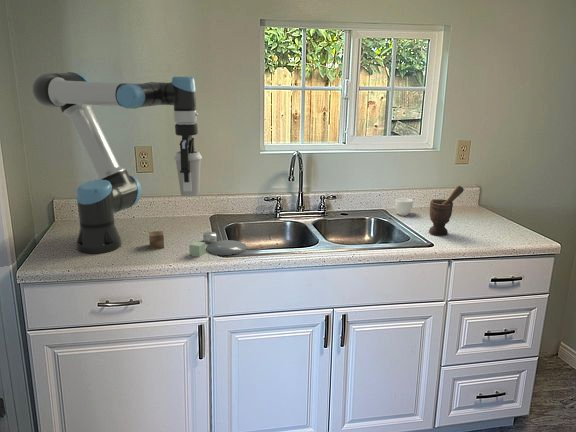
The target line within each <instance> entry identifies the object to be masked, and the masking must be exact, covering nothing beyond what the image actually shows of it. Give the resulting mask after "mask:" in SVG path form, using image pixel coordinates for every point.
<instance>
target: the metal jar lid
mask: <svg viewBox="0 0 576 432" xmlns="http://www.w3.org/2000/svg"><path fill="white" fill-rule="evenodd" d="M202 237H203V238H202V240H203V241H202V242H204V243H205V244H207V245H209V244H210V243H213V242H216V241H218V239H217V233H216V232H215V231H206V232H203V233H202Z"/></svg>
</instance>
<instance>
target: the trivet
mask: <svg viewBox="0 0 576 432" xmlns="http://www.w3.org/2000/svg"><path fill="white" fill-rule="evenodd" d="M246 250H247V246H246V244H245V243H244V242H242V241H238V240H233V239H231V240H229V239H225V240H224V239H223V240H217V241H216V242H213V243H210V244H207V246H206V252H208V253H209V254H212V255H214V256H224V255H228V256H233V255H232V254H236V255H239V254H242V253H244V252H245V251H246Z"/></svg>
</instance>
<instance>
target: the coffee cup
mask: <svg viewBox="0 0 576 432" xmlns="http://www.w3.org/2000/svg"><path fill="white" fill-rule="evenodd" d="M200 153H201V152H200V151H198V150H195V151H193V153H192V154H188V158H189V161H190V172H191V185H192V191H184V189H183V173H180V171H181V153H180V151H177V152H175V155H174V158H173V159H174V160H175V165H176V171H177V178H178V183H179V192H180V196H181V197H187V198H188V197H189V198H190V197H196V196H199V195H200V192H201V191H200V189H201V188H200V187H201V184H200V183H201V164H202V163H201V161H202V159H203V156H202V154H200ZM184 169H187V168H184Z"/></svg>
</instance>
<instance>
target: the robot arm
mask: <svg viewBox="0 0 576 432" xmlns="http://www.w3.org/2000/svg"><path fill="white" fill-rule="evenodd" d="M31 89H32V94H33V97H34V99H35V100H36V101H37V102H38V103H40V105H42V106H44V107H50V108H56V107H57V108H58V107H59V108H60V110H61V112H62V114H63V115H64V116H67V117H69V119H70V121H71V123H72V124H73V125H72V126H73V128H74V129H75V131H76V133H77V135H78V137H79V139H80V141H81V144H82V145H83V147H84V150H85V152H86V154H87V156H88V158H89V159H90V162H91V164H92V165H93V168H94V170H95V172H96V174H97V179H94V180H89V181H85V182H83V183H81V184H80V185H79V186H77V189H76V201H77V207H78V208H77V210H78V219H79V231H78V236H77V239H76V249H77V251H79V252H81V253H84V254H104V253H108V252H111V251H115V250H117V249H119V248H120V247H121V246H122V239H121V236H120V233H119V232H118V229H117V227H116V225H115V213H118V212H120V211H123V210H127V209H130V208H132V207H133V206H134V205H135V206H136V204H137V203H138V202H140V199H141V196H142V193H143V192H142V191H143V190H142V185H141V183H140V181H139V179H137V178H136V177H134V175H130V174H129V172H128V171H127V169H126V168H124V167H122V166H120V163H119V162H118V159H117V158H116V155H115V153H114V151H113V149H112V147H111V145H110V143H109V141H108V139H107V137H106V134H105V133H104V131H103V129H102V126H101V124H100V123H99V120H98V118H97V116H96V114H95V112H94V110H93V106H102V107H103V106H106V107H120V108H121V107H122V108H124V109H130V110H131V109H135V110H136V109H138V108H145V107H154V106H173V115H174V116H173V118H174V123H176V124H174V131H175V135H176V136H181V140H180V141H179V149H180V153H181V171H180V173H183V189H184V191H192V185H191V172H190V161H189V158H188V154H192V153H193V151H196V150H195V138H194V137H193V136H197V135H198V124H197V121H198V116H199V113H198V112H197V101H196V99H197V97H196V93H197V92H196V90H197V89H196V84H195V78H194V77H193V76H190V75H189V76H188V75H187V76H185V75H184V76H173V77H171V82H157V81H149V82H144V83H127V82H125V83H123V82H106V81H105V82H104V81H103V82H102V81H90V79H89V78H88V77H87V76H86V75H84V74H81V73H79V72H72V71H70V72H56V73H54V72H50V73H43V74H40V75H39V76H38V77H36V78H35V80H34V81H33V84H32V88H31ZM184 168H187V169H184Z"/></svg>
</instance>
